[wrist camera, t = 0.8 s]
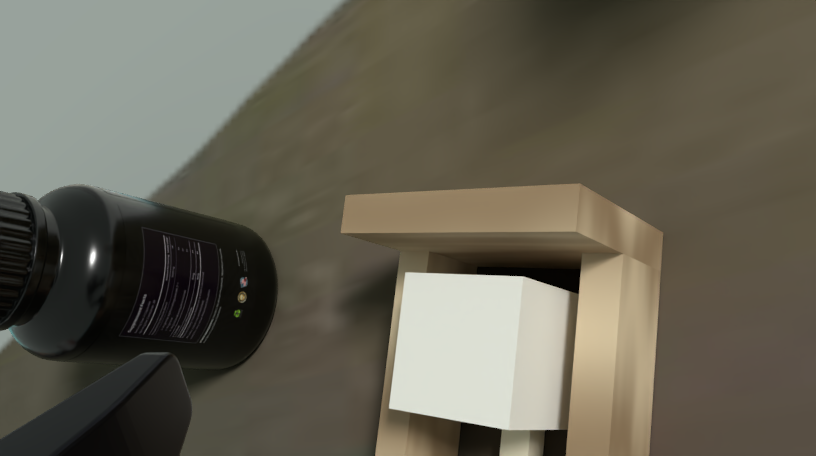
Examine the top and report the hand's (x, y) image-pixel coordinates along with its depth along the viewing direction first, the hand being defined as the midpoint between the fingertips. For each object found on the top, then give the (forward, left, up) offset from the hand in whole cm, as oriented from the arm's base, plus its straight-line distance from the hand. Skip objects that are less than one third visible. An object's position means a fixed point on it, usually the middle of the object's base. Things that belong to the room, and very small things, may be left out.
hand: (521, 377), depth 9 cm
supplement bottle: (+2, +23, -14) cm, 27 cm away
